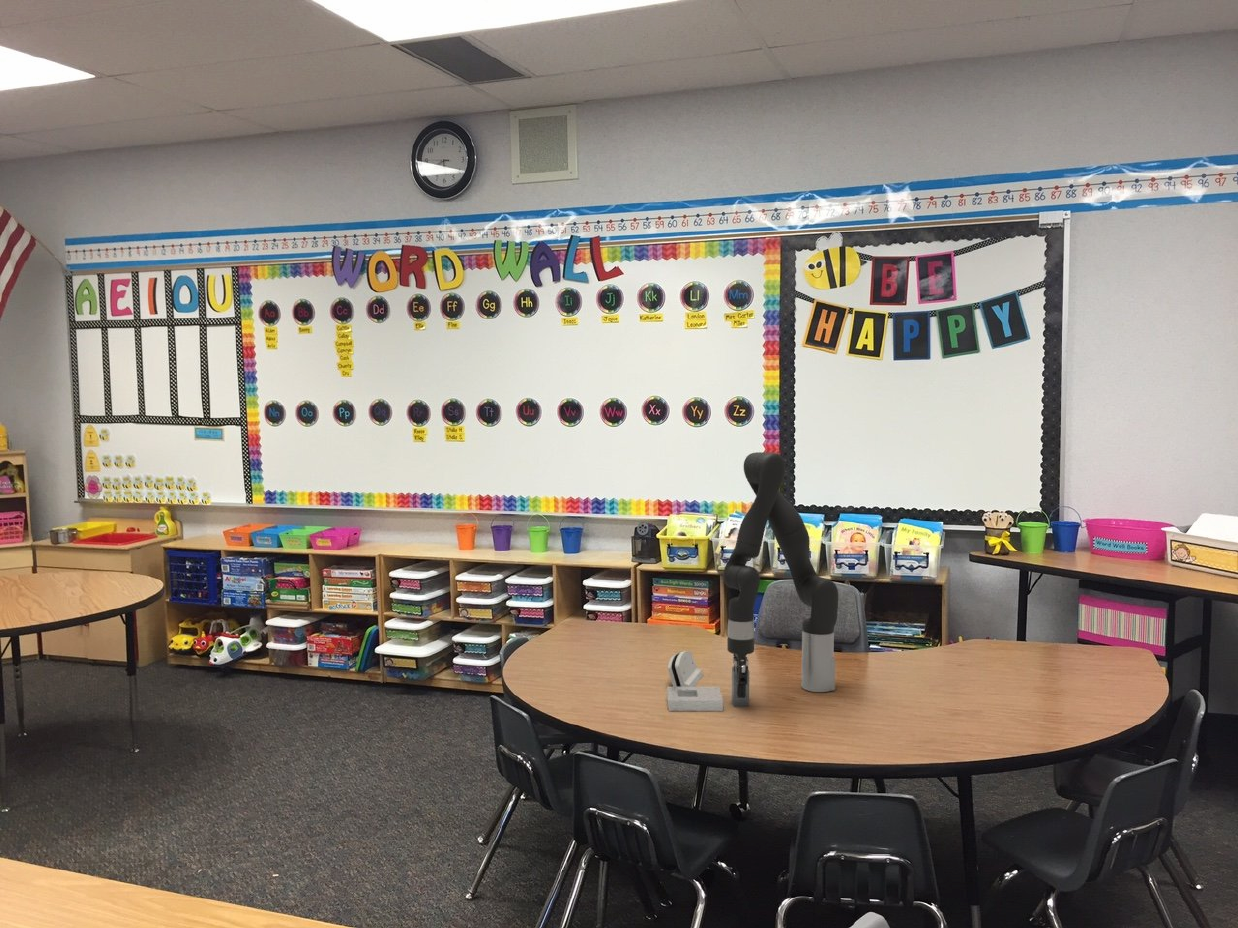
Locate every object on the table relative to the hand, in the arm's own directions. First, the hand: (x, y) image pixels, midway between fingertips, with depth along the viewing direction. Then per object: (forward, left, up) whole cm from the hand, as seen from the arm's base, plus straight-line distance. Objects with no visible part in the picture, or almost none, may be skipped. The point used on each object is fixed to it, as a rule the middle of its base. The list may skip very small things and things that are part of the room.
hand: (740, 693), depth 267 cm
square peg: (0, 0, -3) cm, 3 cm away
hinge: (+14, -20, -3) cm, 25 cm away
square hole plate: (+13, 0, -3) cm, 13 cm away
